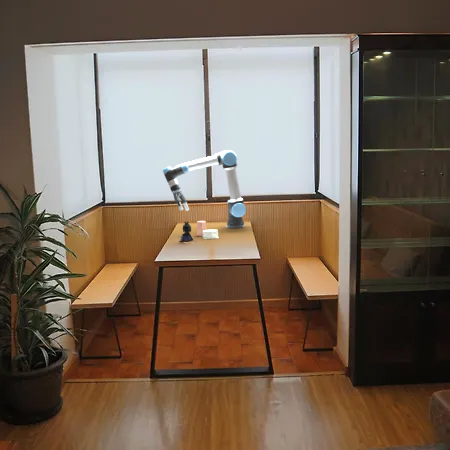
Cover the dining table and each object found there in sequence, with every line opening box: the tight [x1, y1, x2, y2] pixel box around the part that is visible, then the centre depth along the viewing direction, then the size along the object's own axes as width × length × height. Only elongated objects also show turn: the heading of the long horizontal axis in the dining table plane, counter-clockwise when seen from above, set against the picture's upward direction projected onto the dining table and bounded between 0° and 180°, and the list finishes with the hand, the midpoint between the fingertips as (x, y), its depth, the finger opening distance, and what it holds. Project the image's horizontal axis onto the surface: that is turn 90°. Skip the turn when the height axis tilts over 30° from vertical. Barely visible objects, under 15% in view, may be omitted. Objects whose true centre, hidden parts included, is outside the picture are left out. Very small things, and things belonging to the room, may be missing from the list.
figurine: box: [177, 221, 194, 243], centre depth 396 cm, size 8×12×15 cm
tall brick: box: [196, 220, 207, 237], centre depth 413 cm, size 5×5×12 cm
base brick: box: [202, 229, 219, 239], centre depth 404 cm, size 8×8×5 cm
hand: (184, 210), depth 422 cm, fingers open, 13 cm apart
